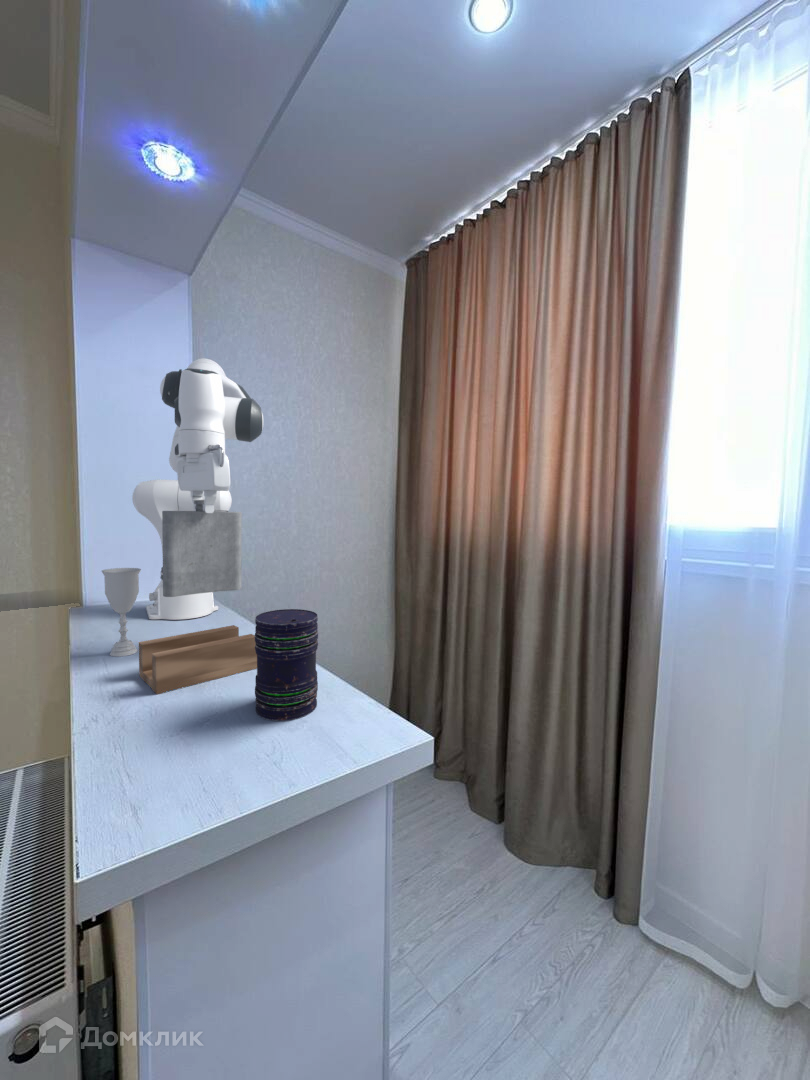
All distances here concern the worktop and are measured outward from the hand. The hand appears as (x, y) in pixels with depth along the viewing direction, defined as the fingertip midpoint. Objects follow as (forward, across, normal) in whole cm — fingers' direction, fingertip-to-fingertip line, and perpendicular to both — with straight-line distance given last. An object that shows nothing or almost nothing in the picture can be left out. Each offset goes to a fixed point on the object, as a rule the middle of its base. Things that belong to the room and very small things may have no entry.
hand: (203, 512), depth 93 cm
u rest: (+30, -11, +5) cm, 33 cm away
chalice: (+31, +11, +13) cm, 35 cm away
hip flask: (+18, 0, 0) cm, 18 cm away
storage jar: (+31, -35, 0) cm, 47 cm away
